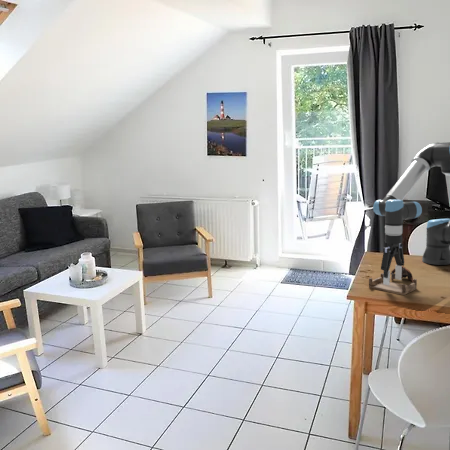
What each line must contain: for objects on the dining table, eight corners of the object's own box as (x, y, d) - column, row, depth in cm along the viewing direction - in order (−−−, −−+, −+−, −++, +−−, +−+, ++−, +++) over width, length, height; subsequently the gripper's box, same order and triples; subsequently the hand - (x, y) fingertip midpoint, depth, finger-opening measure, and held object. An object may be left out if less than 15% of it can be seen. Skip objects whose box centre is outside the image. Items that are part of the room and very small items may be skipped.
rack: (381, 282, 233) (381, 273, 232) (416, 288, 221) (416, 279, 220) (368, 288, 225) (369, 278, 224) (404, 295, 213) (404, 285, 212)
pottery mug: (415, 285, 227) (406, 270, 225) (395, 292, 231) (387, 277, 230) (415, 273, 237) (407, 259, 236) (397, 280, 242) (389, 266, 240)
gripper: (397, 229, 229) (396, 275, 233) (373, 236, 213) (372, 285, 217) (413, 231, 224) (411, 278, 227) (389, 238, 208) (387, 288, 212)
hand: (392, 281), depth 222 cm, fingers open, 10 cm apart
